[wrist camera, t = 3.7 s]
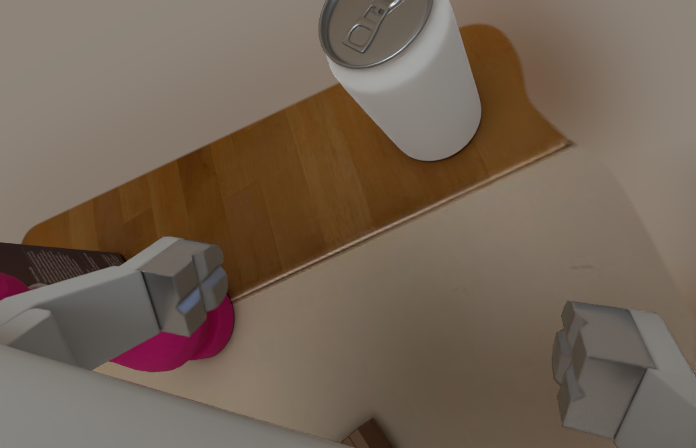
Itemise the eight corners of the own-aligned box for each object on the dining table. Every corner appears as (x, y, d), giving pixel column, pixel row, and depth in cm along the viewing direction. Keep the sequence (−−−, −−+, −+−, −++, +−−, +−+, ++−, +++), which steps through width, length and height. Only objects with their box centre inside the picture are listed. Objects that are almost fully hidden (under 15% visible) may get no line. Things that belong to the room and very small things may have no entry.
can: (502, 101, 26) (476, -36, 16) (444, 180, 27) (382, 100, 17) (427, 65, 29) (362, -71, 19) (376, 137, 30) (287, 46, 20)
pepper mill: (166, 314, 37) (-185, 321, 19) (215, 261, 35) (-116, 216, 17) (198, 381, 33) (-186, 466, 16) (253, 327, 32) (-102, 352, 14)
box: (99, 287, 42) (-54, 280, 31) (120, 252, 41) (-27, 233, 30) (124, 324, 39) (-34, 332, 28) (147, 287, 38) (-5, 281, 28)
